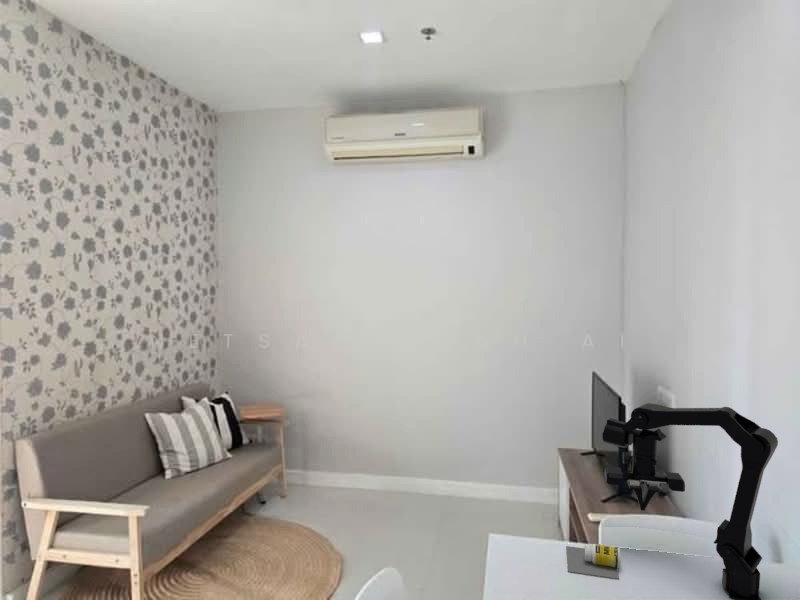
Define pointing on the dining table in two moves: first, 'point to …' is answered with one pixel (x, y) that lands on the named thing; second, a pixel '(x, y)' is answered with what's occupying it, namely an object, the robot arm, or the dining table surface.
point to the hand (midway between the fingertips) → (642, 509)
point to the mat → (587, 565)
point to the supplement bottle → (603, 555)
